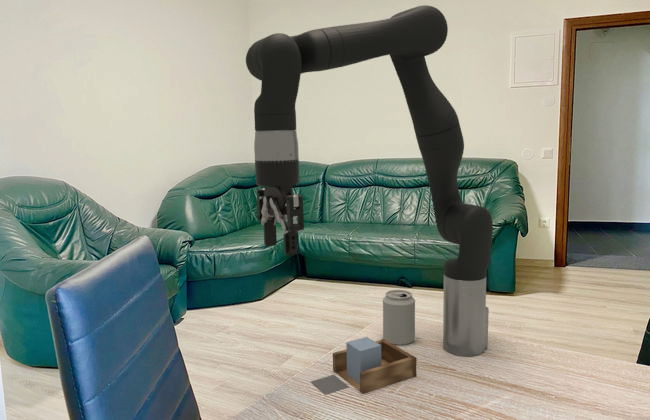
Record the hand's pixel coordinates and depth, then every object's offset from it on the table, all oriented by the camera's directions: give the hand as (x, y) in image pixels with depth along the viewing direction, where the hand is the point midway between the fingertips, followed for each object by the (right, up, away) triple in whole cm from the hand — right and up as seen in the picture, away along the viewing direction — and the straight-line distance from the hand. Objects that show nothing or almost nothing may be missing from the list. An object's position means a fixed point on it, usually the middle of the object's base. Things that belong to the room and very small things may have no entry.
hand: (280, 249), depth 88 cm
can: (+25, -24, +31) cm, 47 cm away
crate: (+18, -27, +14) cm, 35 cm away
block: (+16, -27, +13) cm, 34 cm away
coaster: (+9, -28, +10) cm, 31 cm away
